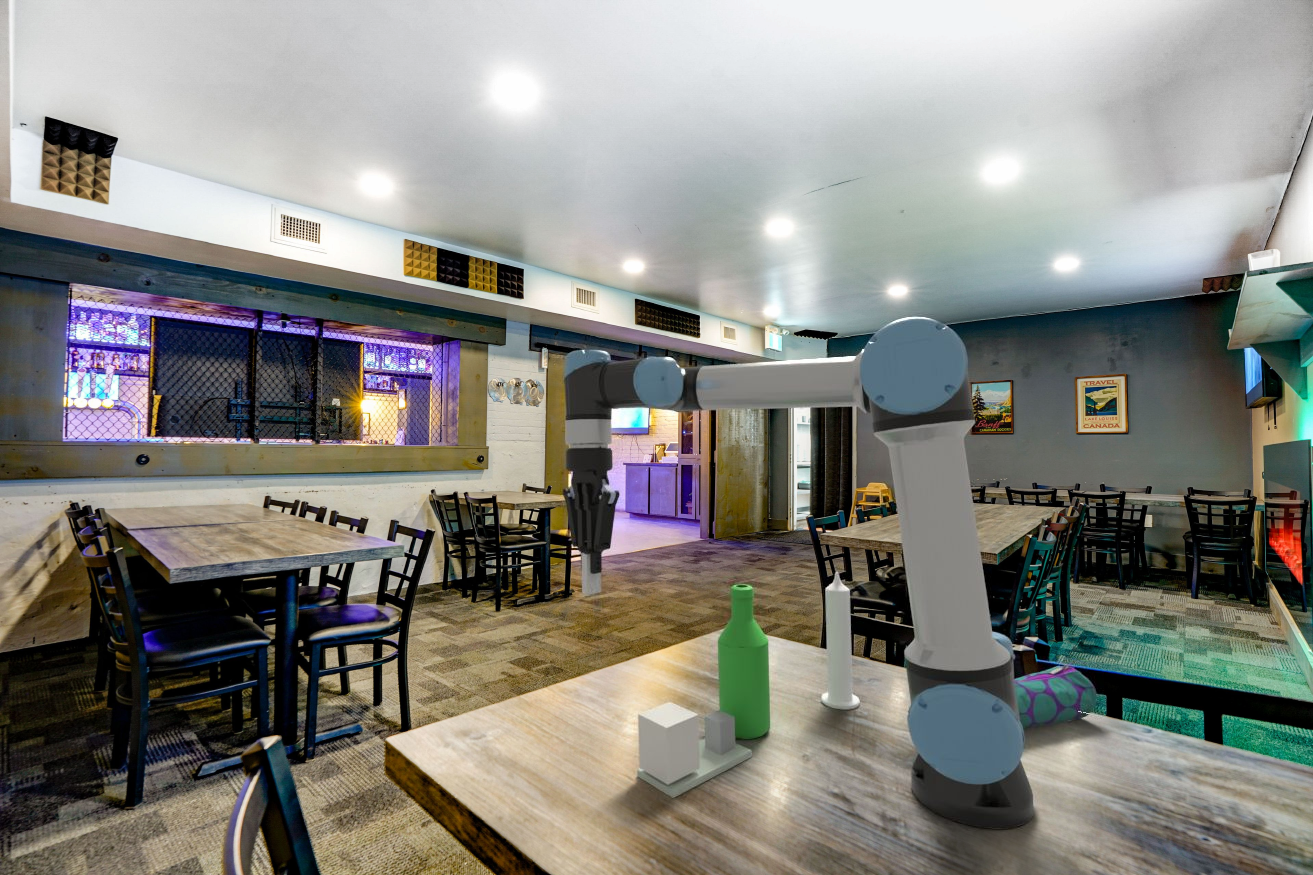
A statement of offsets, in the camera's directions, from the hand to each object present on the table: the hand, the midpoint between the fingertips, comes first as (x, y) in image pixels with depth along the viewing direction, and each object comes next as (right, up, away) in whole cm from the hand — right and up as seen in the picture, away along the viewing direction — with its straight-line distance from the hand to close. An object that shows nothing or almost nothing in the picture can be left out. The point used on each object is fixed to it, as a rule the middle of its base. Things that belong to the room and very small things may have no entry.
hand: (591, 592), depth 99 cm
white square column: (+12, -24, -7) cm, 28 cm away
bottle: (+26, -26, +8) cm, 38 cm away
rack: (+17, -26, -4) cm, 31 cm away
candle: (+46, -26, +19) cm, 56 cm away
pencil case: (+76, -25, +8) cm, 81 cm away
